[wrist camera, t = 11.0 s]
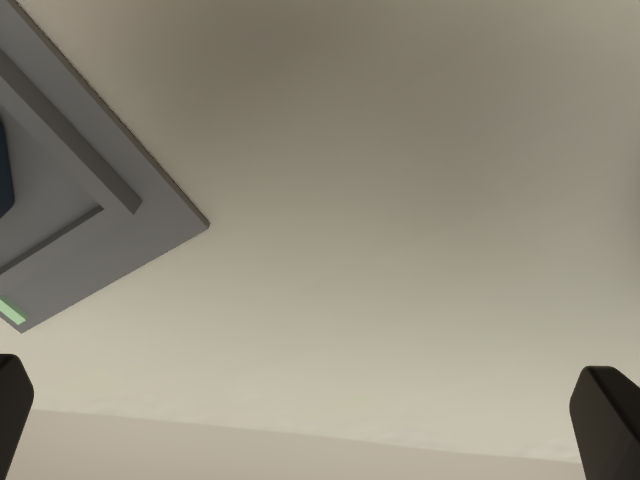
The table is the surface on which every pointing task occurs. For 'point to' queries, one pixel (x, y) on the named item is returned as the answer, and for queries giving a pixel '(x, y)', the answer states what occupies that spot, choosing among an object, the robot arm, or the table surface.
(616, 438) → the robot arm
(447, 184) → the table surface
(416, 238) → the table surface
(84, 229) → the dock
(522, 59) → the table surface
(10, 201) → the vaping device
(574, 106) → the table surface
